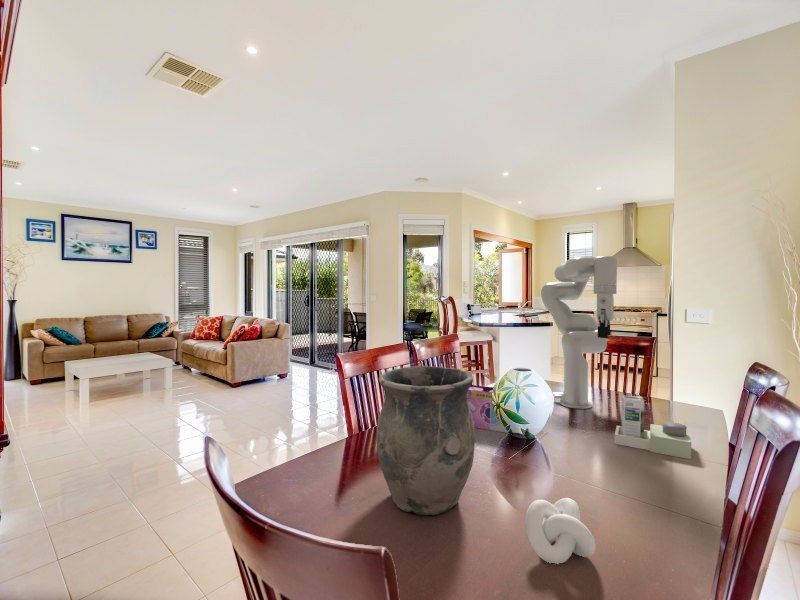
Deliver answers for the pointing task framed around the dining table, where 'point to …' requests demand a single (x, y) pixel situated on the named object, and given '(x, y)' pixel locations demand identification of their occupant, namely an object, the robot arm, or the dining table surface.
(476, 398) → the pink product box
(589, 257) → the robot arm
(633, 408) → the syrup box
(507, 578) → the dining table surface
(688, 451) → the knob block with frame
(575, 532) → the white knot sculpture
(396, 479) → the clay pot
